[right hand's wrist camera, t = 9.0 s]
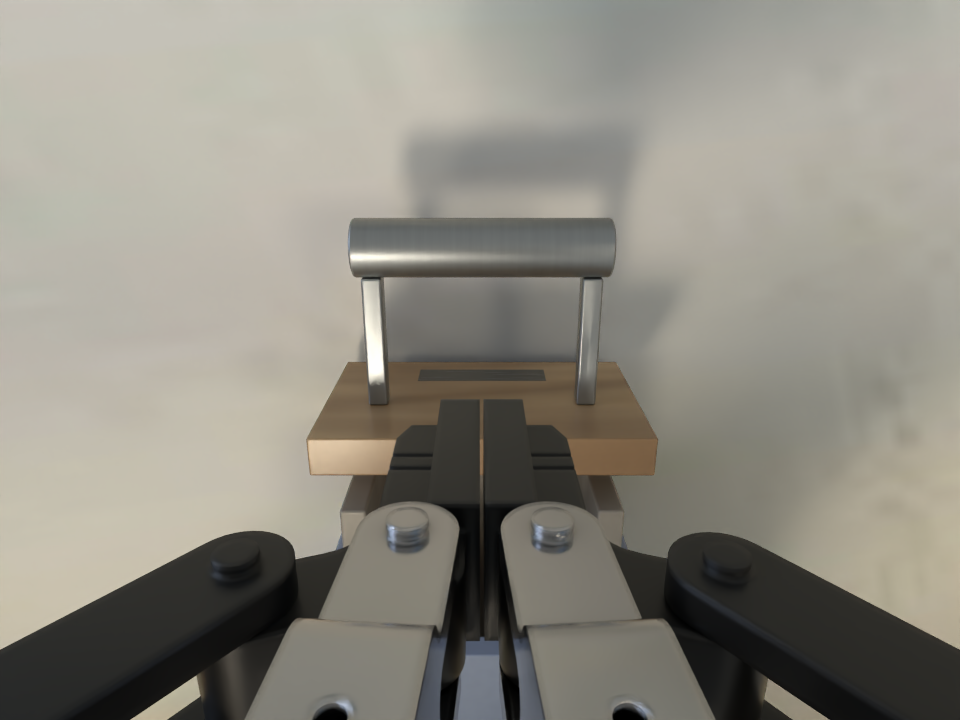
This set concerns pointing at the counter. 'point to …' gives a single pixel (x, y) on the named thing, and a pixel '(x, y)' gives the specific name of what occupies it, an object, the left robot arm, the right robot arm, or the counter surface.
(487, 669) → the cabinet
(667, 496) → the counter surface
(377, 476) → the drawer
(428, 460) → the right robot arm
